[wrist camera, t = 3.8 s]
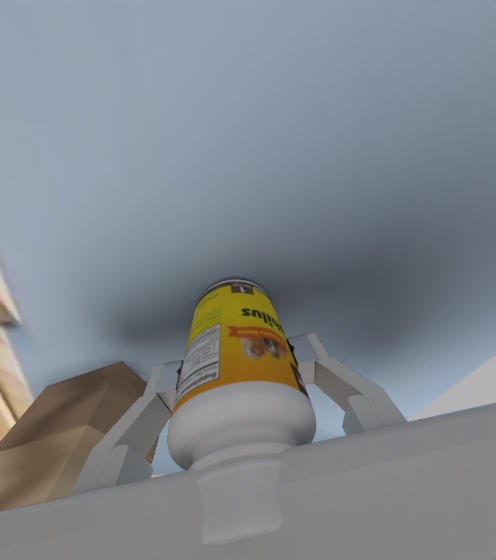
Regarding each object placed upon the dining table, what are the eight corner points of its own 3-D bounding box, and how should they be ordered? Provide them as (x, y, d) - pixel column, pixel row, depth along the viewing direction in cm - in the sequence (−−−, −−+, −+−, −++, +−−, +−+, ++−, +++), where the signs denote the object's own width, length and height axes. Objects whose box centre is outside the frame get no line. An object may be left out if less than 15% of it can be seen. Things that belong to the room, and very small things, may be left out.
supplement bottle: (284, 309, 14) (384, 525, 5) (230, 345, 16) (239, 570, 7) (239, 259, 12) (288, 506, 3) (179, 306, 13) (83, 581, 4)
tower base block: (122, 360, 15) (87, 423, 11) (167, 401, 19) (152, 460, 15) (48, 385, 16) (-11, 454, 12) (105, 420, 19) (75, 483, 15)
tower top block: (87, 424, 11) (15, 556, 7) (151, 461, 15) (125, 563, 11) (-12, 455, 12) (-130, 594, 8) (73, 484, 15) (21, 590, 11)
